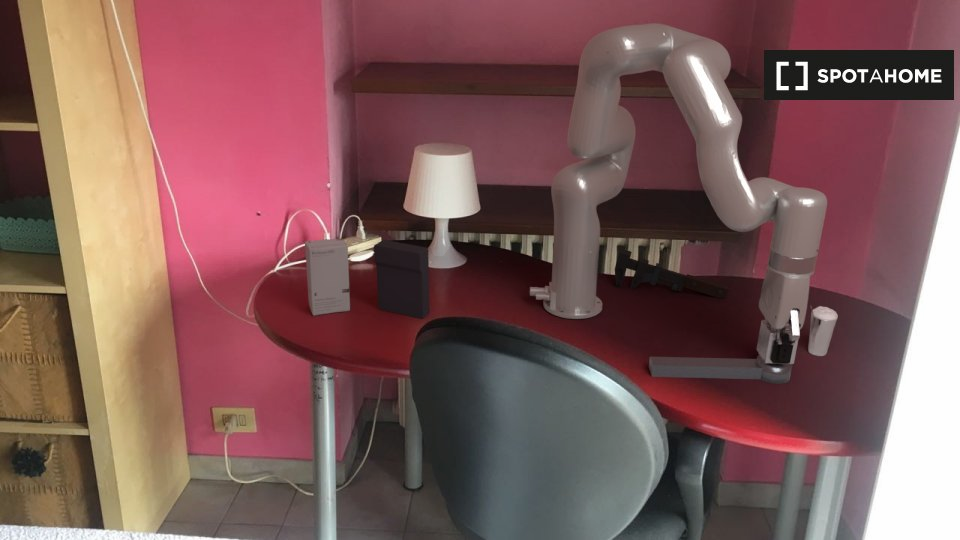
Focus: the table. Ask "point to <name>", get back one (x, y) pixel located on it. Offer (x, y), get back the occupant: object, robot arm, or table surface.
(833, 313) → the milkshake
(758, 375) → the ratchet
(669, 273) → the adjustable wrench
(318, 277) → the skincare box
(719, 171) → the robot arm
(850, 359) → the table surface
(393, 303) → the black lidded box
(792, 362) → the pale grey cube
